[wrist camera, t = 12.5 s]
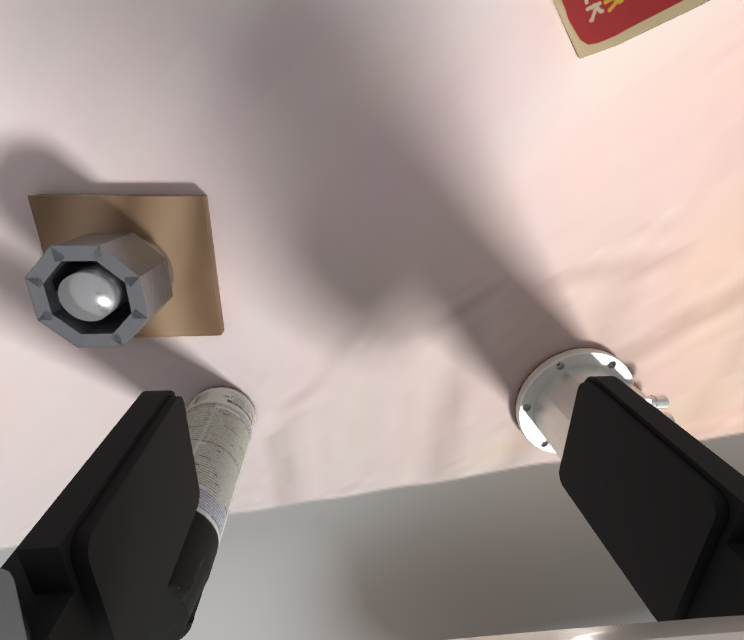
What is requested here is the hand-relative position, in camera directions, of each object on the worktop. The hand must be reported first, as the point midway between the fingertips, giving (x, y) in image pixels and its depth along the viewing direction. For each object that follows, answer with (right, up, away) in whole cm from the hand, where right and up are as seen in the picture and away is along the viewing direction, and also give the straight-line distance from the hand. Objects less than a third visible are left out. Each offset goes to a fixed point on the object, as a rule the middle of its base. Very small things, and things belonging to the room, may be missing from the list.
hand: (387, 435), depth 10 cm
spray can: (-15, -7, +32) cm, 36 cm away
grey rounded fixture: (-20, +7, +25) cm, 33 cm away
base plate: (-20, +7, +26) cm, 34 cm away
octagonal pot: (-20, +6, +23) cm, 31 cm away
